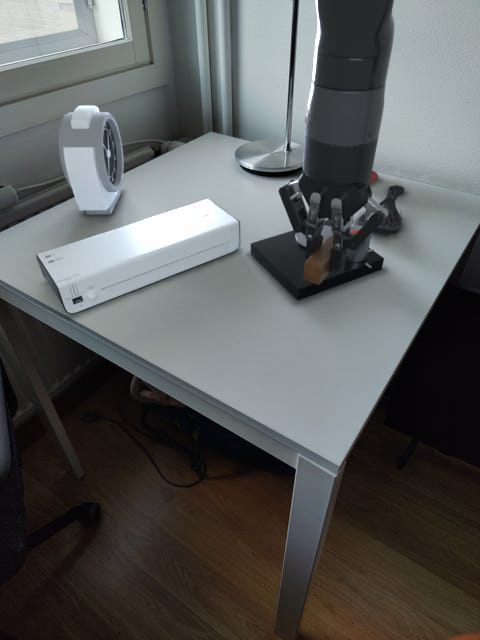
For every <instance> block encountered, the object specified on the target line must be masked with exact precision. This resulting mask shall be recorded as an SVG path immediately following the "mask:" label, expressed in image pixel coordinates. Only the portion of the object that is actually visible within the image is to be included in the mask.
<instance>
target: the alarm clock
mask: <svg viewBox="0 0 480 640" xmlns="http://www.w3.org/2000/svg"><path fill="white" fill-rule="evenodd" d="M58 128H59V129H58V151H59V159H60V164H61V169H62V172H63V175H64V177H65V179H66V182H67V184H68V186H69V187H70V188H71V190H72V193H73V196H74V199H75V202H76V204H77V207H78V210H79V211H85V213H86V215H112V213H113V212H114V209H115V206H116V204H117V202H118V201H119V198H120V196H121V194H122V188H121V186H122V184H123V178H124V163H125V162H124V149H123V143H122V137H121V133H120V129H119V126H118V123H117V121H116V119H115V117H114V116H113V115H112V114H111V113H110V112H107V111H100V109H99V107H98V106H96V105H78V106H77V107H76V108H75V109H74V111H73V112H67V113H66V114H64V115H63V117H62V119H61V120H60V124H59V127H58Z"/></svg>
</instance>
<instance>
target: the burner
mask: <svg viewBox="0 0 480 640" xmlns="http://www.w3.org/2000/svg"><path fill="white" fill-rule="evenodd" d="M331 229H332V227H331V226H327V225H324V227H323V231H322V232H321V235H323V243H324V242H325V241H326V240H327V239H328V238H329V237H331V236H332V235H333V232H332V231H331ZM296 241H297V243H298V244H299V245H300V246H302V247H304V248H306V243H307V240H306V238H305V235H304V234H302V233H301V232H300V233H296ZM323 243H322V244H323Z"/></svg>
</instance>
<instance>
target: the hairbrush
mask: <svg viewBox="0 0 480 640" xmlns="http://www.w3.org/2000/svg"><path fill="white" fill-rule="evenodd" d="M387 191H388V193H387V195H386V196H385V198H384V199H382V200H381V201H380V202H379V204H380V205H381V206H382V205H388V206H389V207H390V208H391V212H390V213H389V214H388V216H387V217H386V218H385V219H384V220H383V222H382V223H381V224H380V225H379V226H378V227H377V228H376V229H375V230H374V231H373V232H377V233H383V234H387V235H388V234H389V235H390V234H398V232H399V231H400V229H401V226H402V219H403V218H402V217H403V216H402V212H401V209H400V208H397V206H396V205H398V203H396V200H397V199H398V197H400V196H402V195H403V194H404V193H405V187H404V186H402V185H395V184H394V185H390V186H388V190H387ZM364 214H365V212H364V213H363V214H362V215H361V216H360V217H359V218H358V220H357V223H356V226H364V225H365V224H366V223H367V222H365V220H364Z"/></svg>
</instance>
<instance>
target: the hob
mask: <svg viewBox="0 0 480 640" xmlns="http://www.w3.org/2000/svg"><path fill="white" fill-rule="evenodd" d="M324 225H327V226H331V227H332V221H331V220H329V219H325V222H324ZM305 253H306V248H304V247H302V246H300V245H299V244H298V243H297V241H296V232H295V231H294V230H293V229H292V230H290V231H286V232H284V233H280V234H277V235H273V236H270V237H267V238H263V239H261V240H257V241H253V242H251V243H250V255H251V256H252V258H254V259H255V260H256V261H257V262H258V264H260V265H261V267H263V268H264V269H265V270H266V271H267V273H269V274H270V276H272V277H273V278H274V280H276V281H277V282H278V283H279V284H280V285H281V287H283V288H284V289H285V290H286V291H287V292H288V293H289V294H290V295H291V296H292V297H293V298H294V299H295V300H296V301H297V302H299V301H301V300H304V299H307V298H310V297H313V296H315V295H318V294H321V293H324V292H326V291H329V290H332V289H334V288H337V287H339V286H343V285H345V284H348V283H350V282H353V281H356V280H358V279H362V278H364V277H367V276H369V275H372V274H374V273H377V272H379V271H382V270H383V266H384V261H385V258H384V257H383V256H382V255H380V254H379V253H378V252H376V251H375V249H374V248H371V247H369V250H368V255H367V259H366V260H365V261H363V262H351V261H349V260H347V259H345V263H344V265H343V266H342V267H341V268H340V270H339V271H336V272H335V273H334V274H332V273H329V274H328V275H327V276H326V278H325V279H324V280H323V281H322V282H321V283H320V284H319V285H318V284H315V283H312V282H309V281H307V280H304V279H303V277H304V267H305V262H306V261H307V260H306V258H305Z"/></svg>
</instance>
